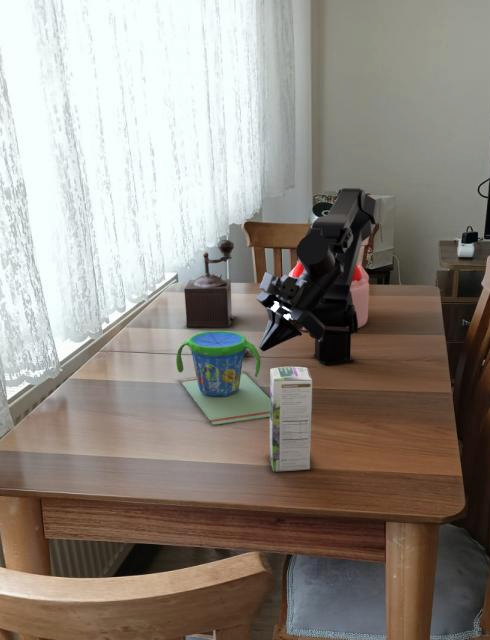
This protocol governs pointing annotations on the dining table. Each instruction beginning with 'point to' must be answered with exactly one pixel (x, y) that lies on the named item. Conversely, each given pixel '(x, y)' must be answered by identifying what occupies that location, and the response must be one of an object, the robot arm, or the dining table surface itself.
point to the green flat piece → (231, 402)
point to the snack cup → (218, 360)
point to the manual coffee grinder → (210, 295)
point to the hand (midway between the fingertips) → (261, 349)
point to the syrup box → (290, 418)
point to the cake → (357, 290)
